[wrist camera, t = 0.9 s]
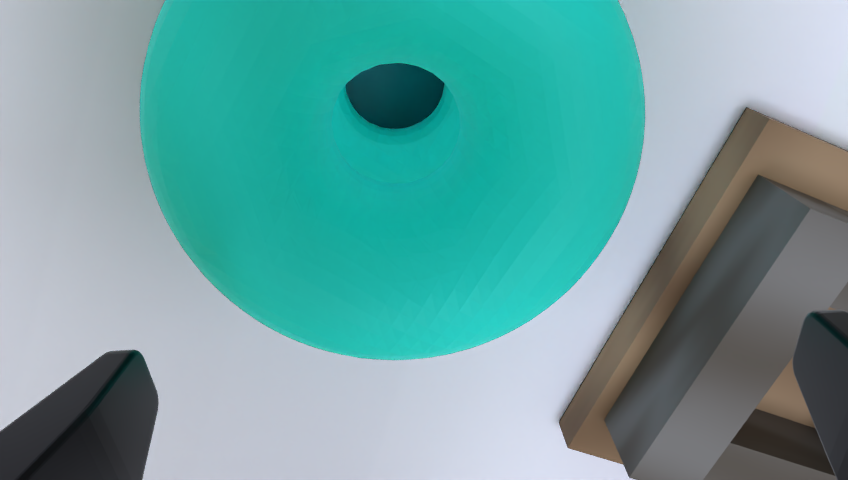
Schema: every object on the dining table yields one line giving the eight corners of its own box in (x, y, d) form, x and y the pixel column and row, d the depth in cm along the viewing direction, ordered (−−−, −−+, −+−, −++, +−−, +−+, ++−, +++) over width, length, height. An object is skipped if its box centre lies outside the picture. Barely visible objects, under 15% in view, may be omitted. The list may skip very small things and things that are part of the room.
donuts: (276, -304, 9) (782, 73, 12) (332, -188, 19) (613, 13, 21) (34, 249, 13) (472, 453, 15) (182, 117, 22) (441, 259, 24)
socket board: (798, 495, 30) (863, 584, 26) (559, 422, 28) (588, 507, 24) (1018, 225, 25) (1142, 282, 21) (747, 107, 22) (826, 146, 18)
